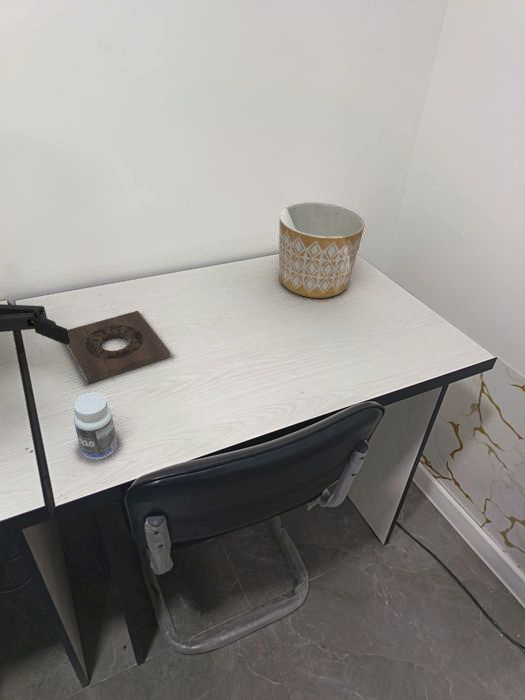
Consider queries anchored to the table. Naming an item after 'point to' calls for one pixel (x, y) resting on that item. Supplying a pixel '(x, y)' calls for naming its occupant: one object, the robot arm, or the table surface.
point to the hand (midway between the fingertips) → (33, 361)
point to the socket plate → (110, 363)
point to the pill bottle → (94, 426)
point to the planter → (318, 248)
